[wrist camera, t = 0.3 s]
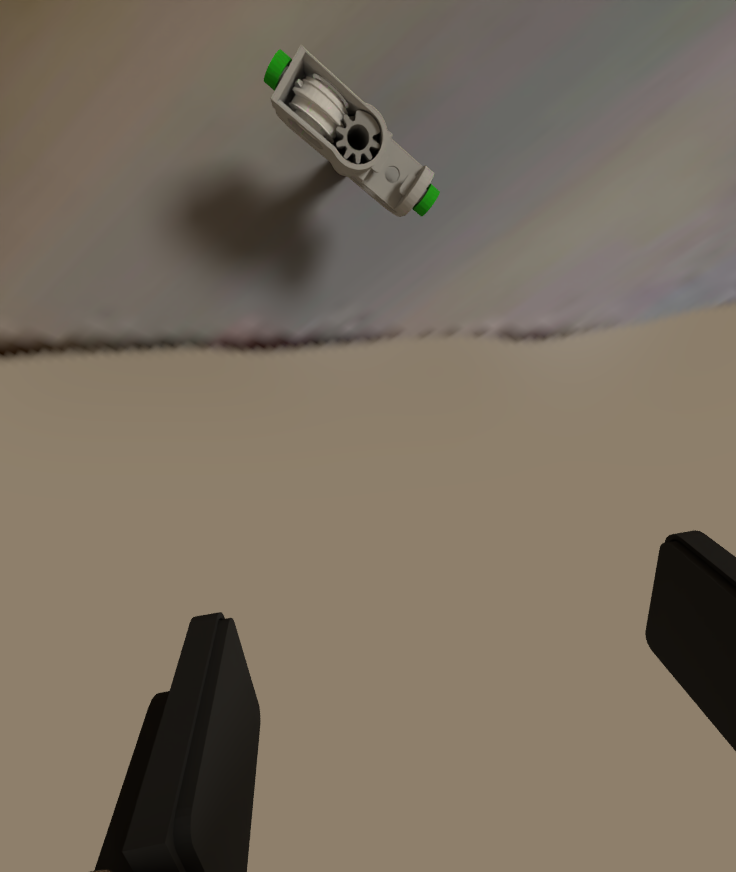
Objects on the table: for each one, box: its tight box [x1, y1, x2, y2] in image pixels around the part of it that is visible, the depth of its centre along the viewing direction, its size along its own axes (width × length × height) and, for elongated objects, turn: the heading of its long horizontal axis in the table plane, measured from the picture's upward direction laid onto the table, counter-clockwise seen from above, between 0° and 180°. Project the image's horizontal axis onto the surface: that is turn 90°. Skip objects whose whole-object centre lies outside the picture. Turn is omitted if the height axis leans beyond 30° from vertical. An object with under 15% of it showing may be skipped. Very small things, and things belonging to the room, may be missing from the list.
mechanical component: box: [264, 45, 440, 217], centre depth 29 cm, size 3×10×10 cm, turn 53°
